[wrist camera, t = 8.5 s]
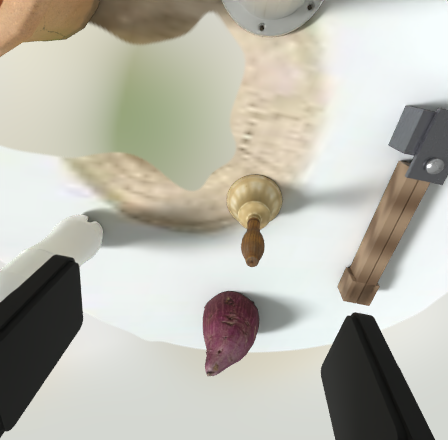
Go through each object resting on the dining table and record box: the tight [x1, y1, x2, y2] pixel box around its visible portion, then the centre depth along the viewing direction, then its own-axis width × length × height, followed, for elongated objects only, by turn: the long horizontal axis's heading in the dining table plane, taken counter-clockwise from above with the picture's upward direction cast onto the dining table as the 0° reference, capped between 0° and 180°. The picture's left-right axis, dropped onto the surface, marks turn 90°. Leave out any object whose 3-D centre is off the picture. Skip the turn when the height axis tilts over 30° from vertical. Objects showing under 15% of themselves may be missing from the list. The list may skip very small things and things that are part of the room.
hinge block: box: [389, 106, 448, 185], centre depth 36 cm, size 8×7×6 cm
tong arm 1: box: [356, 163, 430, 306], centre depth 43 cm, size 22×2×4 cm, turn 170°
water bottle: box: [0, 215, 103, 302], centre depth 38 cm, size 7×7×25 cm
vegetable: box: [203, 291, 259, 376], centre depth 49 cm, size 10×10×15 cm
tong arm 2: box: [338, 161, 418, 303], centre depth 43 cm, size 22×2×4 cm, turn 170°
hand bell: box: [227, 175, 282, 267], centre depth 37 cm, size 8×8×16 cm
